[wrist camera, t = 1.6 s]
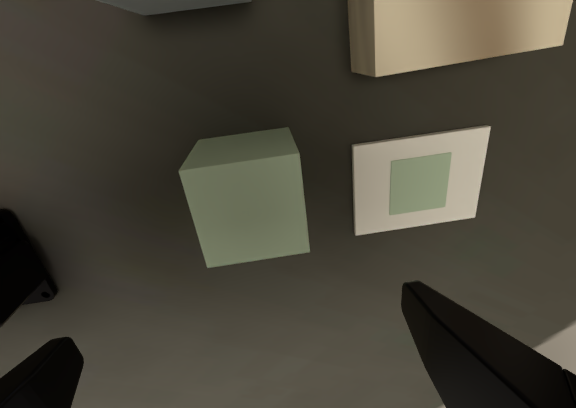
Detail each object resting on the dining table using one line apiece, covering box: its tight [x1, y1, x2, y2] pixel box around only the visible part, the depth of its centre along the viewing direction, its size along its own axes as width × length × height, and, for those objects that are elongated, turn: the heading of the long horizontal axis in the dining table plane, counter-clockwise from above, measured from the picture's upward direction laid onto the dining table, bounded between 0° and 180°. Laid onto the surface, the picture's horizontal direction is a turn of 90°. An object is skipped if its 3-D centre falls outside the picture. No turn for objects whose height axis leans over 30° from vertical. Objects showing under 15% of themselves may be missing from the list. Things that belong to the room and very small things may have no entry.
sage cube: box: [179, 127, 310, 268], centre depth 16 cm, size 5×5×5 cm
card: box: [352, 125, 491, 236], centre depth 19 cm, size 8×6×1 cm
